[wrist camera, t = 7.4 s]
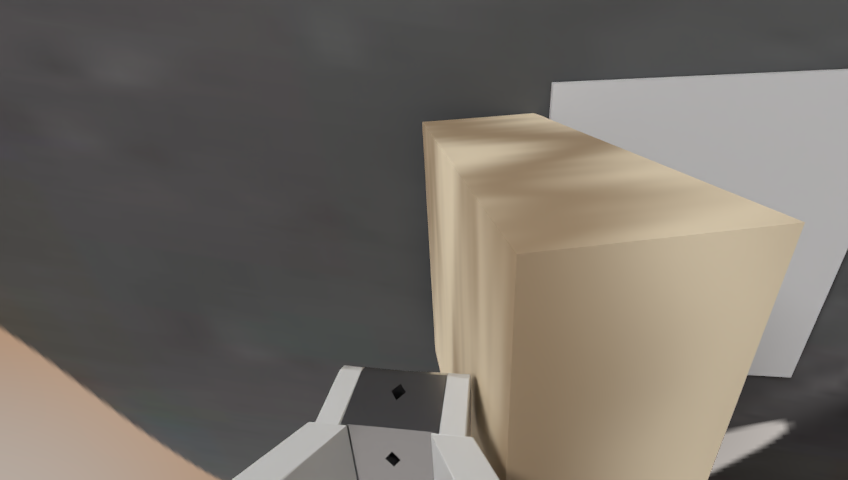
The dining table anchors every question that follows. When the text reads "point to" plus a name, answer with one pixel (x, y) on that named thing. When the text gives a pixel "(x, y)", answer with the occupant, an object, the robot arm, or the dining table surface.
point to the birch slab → (593, 299)
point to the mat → (743, 164)
